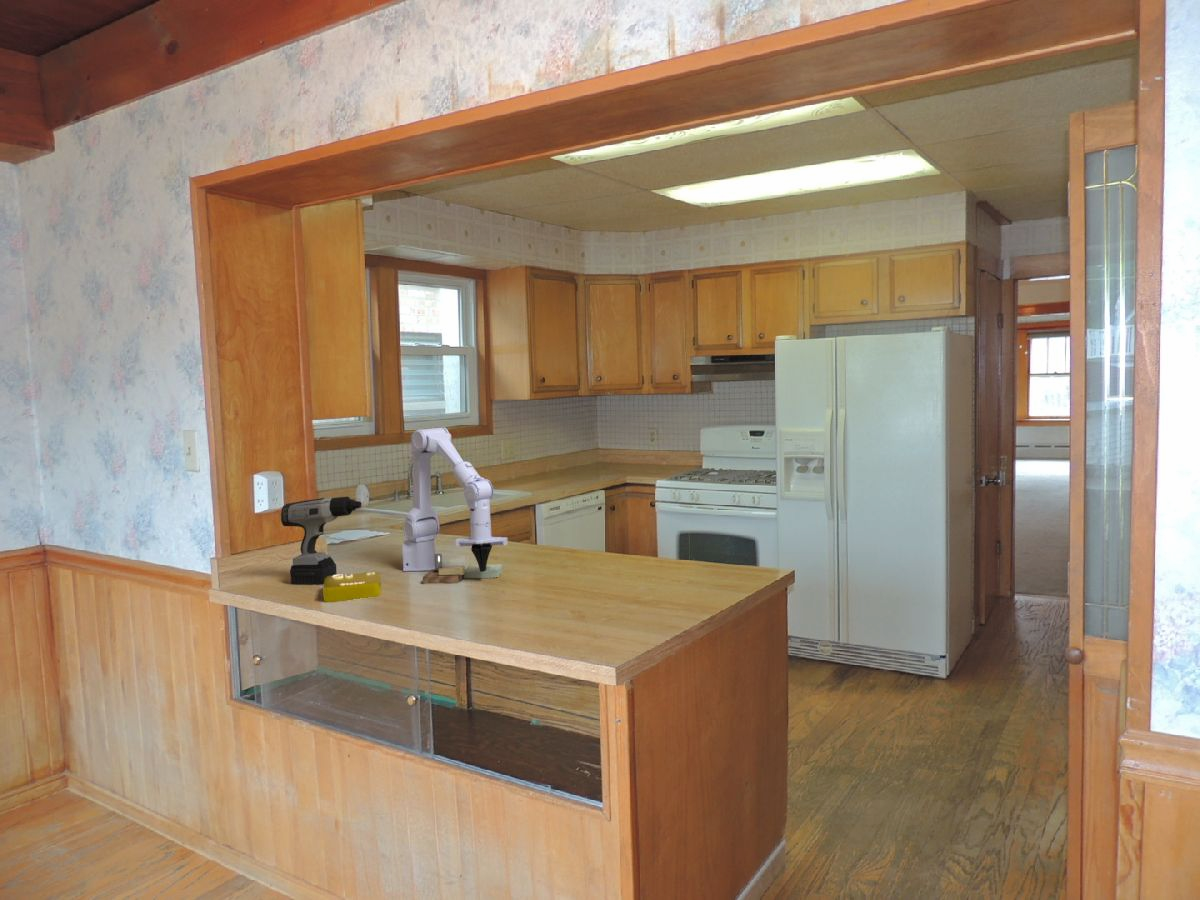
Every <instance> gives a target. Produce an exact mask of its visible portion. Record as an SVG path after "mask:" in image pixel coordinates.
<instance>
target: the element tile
mask: <svg viewBox="0 0 1200 900" xmlns="http://www.w3.org/2000/svg"><path fill="white" fill-rule="evenodd" d="M381 576H382V575H381V572H380V571H368V572H367V571H366V572H356V573H355V572H354V573H349V574H347V573H345V574H342V573H339V574H338V573H337V575H333V576H327V577H326V578H325V580H324V585H323V586H322V592H323V593H322V594H323V596H322V597H323V602H324V603H331V604H332V603H340V602H339V601H341V602H348V601H347V600H351V601H354V600H353V599H360V598H368V597H377V596H380V595H382V596H383V593H382V592H383V591H382V590H383V589H382V579H381V578H382V577H381Z"/></svg>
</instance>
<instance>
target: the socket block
mask: <svg viewBox="0 0 1200 900" xmlns="http://www.w3.org/2000/svg"><path fill="white" fill-rule="evenodd" d="M463 578H464V575H439V573H435V569H433V570H428V571H427V572H426V574H423V576H422V583H444V584H459V583H460V582H461V581H462V579H463ZM459 581H460V582H459ZM458 582H459V583H458Z"/></svg>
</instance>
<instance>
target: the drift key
mask: <svg viewBox="0 0 1200 900" xmlns="http://www.w3.org/2000/svg"><path fill="white" fill-rule="evenodd" d="M465 570H466V566H465V565H460V566H459V567H443V568H440V569H439V575H464V574H465Z"/></svg>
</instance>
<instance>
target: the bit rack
mask: <svg viewBox="0 0 1200 900" xmlns="http://www.w3.org/2000/svg"><path fill="white" fill-rule="evenodd" d="M503 572H504V564H501V563H499V564H498V563H497V564H487V565H486V571H482V572H480V569H479V565H478V564H469V565H468V566H467V567H465V574H464V577H463V578H464V579H487V578H489V579H490V578H494V577H495V578H496V577H498V578H499V577H500V576H501V575H502V573H503ZM500 574H501V575H500ZM495 578H494V579H495Z"/></svg>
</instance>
